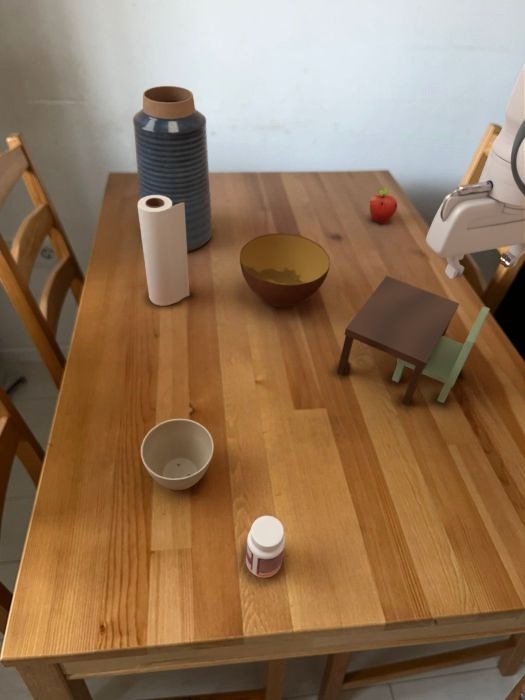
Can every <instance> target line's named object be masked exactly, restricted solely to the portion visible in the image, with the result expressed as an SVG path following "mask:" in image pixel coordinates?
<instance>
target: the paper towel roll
mask: <svg viewBox="0 0 525 700" xmlns="http://www.w3.org/2000/svg"><path fill="white" fill-rule="evenodd" d="M137 211H138V219H139V220H138V221H139V228H140V237H141V245H142V251H143V252H142V253H143V260H144V267H145V274H146V275H145V276H146V283H147V290H148V298H149V300H150V302H151V303H152V304H154V305H157V306H161V307H162V306H170V305H173V304H176V303H179V302H180V301H181V300H183V299H184V298H186V297H189V296H190V278H189V263H188V262H189V261H188V251H187V241H186V223H185V205H184V203H180V204H177V205H175V206H174V207H172V201H171V200H170V199H169V198H167V197H165V196H161V195H150V196H146V197H143V198H141V199H139V200H138V201H137Z"/></svg>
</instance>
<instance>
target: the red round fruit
mask: <svg viewBox="0 0 525 700" xmlns="http://www.w3.org/2000/svg"><path fill="white" fill-rule="evenodd" d="M388 190H389V188H385V189H379V190H378V193H379V194H378V195H375V196H373V197H372V198H371V200H370V201H369V212H370V217H371V219H372V220H373V222H375V223H379V224H386V223H387V222H388V221H389V220H390V219H392V217H393V216H394V215H395V213H396V211H397V210H398V209H397V208H398V201H397V199H396V198H395V196H393V195H389V194H387V192H388Z"/></svg>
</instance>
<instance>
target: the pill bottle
mask: <svg viewBox="0 0 525 700" xmlns="http://www.w3.org/2000/svg"><path fill="white" fill-rule="evenodd" d="M285 547H286V536H285V528H284V525H283V524H282V522H281V521H280V519H278V518H277V517H275V516H272V515H262V516H259V517H257V518H256V519H255V520H254V521H253V523H252V525H251V528H250V530H249V531H248V534H247V538H246V553H245V563H246V566H247V568H248V570H249V572H250V573H252V574H253V575H255V576H256V577H258V578H263V579H264V578H270V577H272V576H275V575H276V574H277V573H278V572H279V570H280V569H281V567H282V561H283V558H284V551H285Z"/></svg>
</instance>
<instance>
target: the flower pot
mask: <svg viewBox="0 0 525 700" xmlns="http://www.w3.org/2000/svg"><path fill="white" fill-rule="evenodd" d="M214 450H215V444H214V440H213V437H212V434H211V433H210V431H209V430H208V429H207V428H206V427H205V426H203V425H202V424H201V423H199V422H197V421H194V420H192V419H188V418H171V419H168V420H165V421H162V422H160V423H158V424H157V425H155V426H154V427H152V428H151V429H150V430H149V431H148V432H147V434H146V435H145V437H144V438H143V440H142V442H141V446H140V458H141V460H142V464H143V466H144V467H145V469H146V471H147V472H148V474H149V475H150V476H151V478H152V479H154V481H155V482H156V483H158V484H159V485H160V486H162V487H164V488H167V489H170V490H173V491H182V490H187V489H190V488H191V487H192V486H194V485H196V484H197V483H198V482H199V481H200V480H201V479H202V478H203V477H204V476H205V475H206V472H207V471H208V469H209V467H210V465H211V462H212V459H213V456H214Z"/></svg>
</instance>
